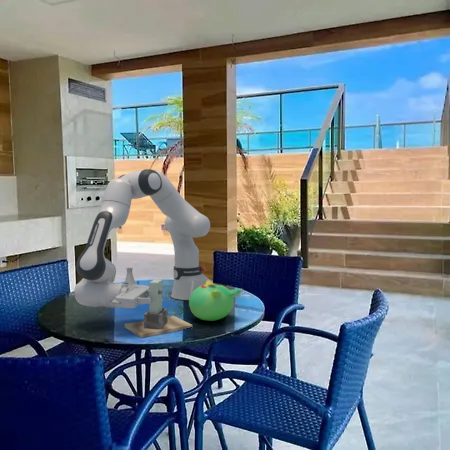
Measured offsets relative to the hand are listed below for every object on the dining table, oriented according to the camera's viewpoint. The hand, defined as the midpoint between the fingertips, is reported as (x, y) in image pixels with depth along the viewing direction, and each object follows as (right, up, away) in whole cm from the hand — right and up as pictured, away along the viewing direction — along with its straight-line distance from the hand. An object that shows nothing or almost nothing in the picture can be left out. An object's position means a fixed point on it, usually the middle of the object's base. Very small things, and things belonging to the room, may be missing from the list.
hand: (155, 297), depth 169 cm
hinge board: (+1, -11, +2) cm, 11 cm away
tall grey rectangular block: (0, -10, +1) cm, 10 cm away
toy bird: (+20, -11, +13) cm, 26 cm away
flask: (-22, -5, +64) cm, 68 cm away
